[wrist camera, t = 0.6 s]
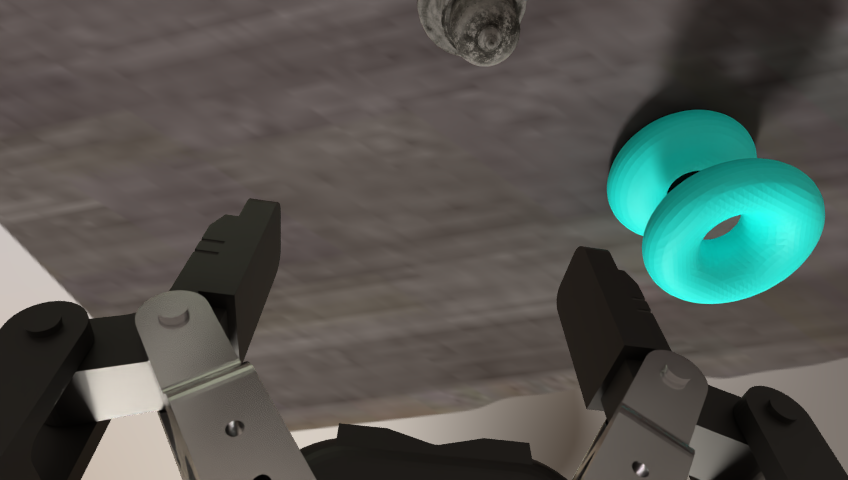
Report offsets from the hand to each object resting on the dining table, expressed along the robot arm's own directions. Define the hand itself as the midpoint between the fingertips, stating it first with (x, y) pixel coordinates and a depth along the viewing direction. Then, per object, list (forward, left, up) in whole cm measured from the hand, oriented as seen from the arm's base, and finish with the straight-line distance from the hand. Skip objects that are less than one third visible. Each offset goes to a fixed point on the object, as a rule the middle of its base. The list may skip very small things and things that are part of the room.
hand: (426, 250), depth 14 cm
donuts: (-17, +12, -22) cm, 30 cm away
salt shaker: (-3, -2, -22) cm, 22 cm away
